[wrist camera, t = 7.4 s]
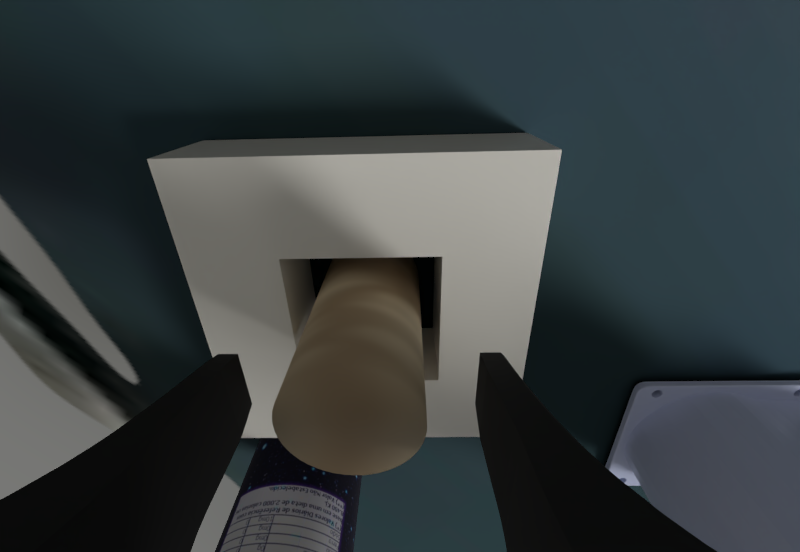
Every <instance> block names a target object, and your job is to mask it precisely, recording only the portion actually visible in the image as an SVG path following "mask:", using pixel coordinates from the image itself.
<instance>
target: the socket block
mask: <svg viewBox="0 0 800 552" xmlns="http://www.w3.org/2000/svg"><path fill="white" fill-rule="evenodd" d="M561 153H562V149H560V148H557V147H555V146H553V145H551V144H549V143H547V142H545V141H543V140H541V139H539V138H537V137H535V136H533V135H531V134H529V133H495V134H452V135H410V136H367V137H325V138H282V139H240V140H203V141H200V142H197V143H194V144H191V145H188V146H185V147H182V148H179V149H176V150H173V151H170V152H167V153H164V154H161V155H157V156H154V157H151V158H148V159H147V161H148V164H149V167H150V170H151V173H152V176H153V179H154V182H155V185H156V188H157V191H158V194H159V197H160V200H161V203H162V206H163V209H164V212H165V215H166V218H167V221H168V224H169V227H170V230H171V233H172V236H173V239H174V243H175V246H176V249H177V252H178V255H179V258H180V261H181V264H182V267H183V270H184V273H185V276H186V279H187V282H188V285H189V288H190V291H191V294H192V297H193V300H194V303H195V306H196V309H197V312H198V315H199V318H200V321H201V324H202V327H203V330H204V333H205V336H206V339H207V342H208V345H209V348H210V351H211V354H212V357H214V356H216V355H217V354H238V356H239V360H240V363H241V367H242V370H243V374H244V377H245V381H246V384H247V388H248V391H249V395H250V398H251V402H252V406H251V409H250V412H249V416H248V419H247V422H246V425H245V428H244V431H243V434H242V437H241V438H278V437H277V435H276V433H275V431H274V427H273V423H272V410H273V406H274V403H275V400H276V398H277V395H278V393H279V390H280V388H281V385H282V383H283V381H284V378H285V376H286V373H287V371H288V368H289V366H290V363H291V361H292V358H293V356H294V353H295V351H296V348H297V346H298V343H299V341H300V338H301V336H302V333H303V331H304V328H305V326H306V323H307V321H308V318H309V316H310V313H311V311H312V308H313V306H314V303H315V301H316V298H315V292H314V285H313V278H312V272H311V265H310V259H325V258H388V257H434V295H433V328H422V343H423V360H424V377H425V394H426V411H427V433H426V437H480V435H479V428H478V421H477V414H476V406H475V399H476V388H477V378H478V367H479V357H480V353H485V352H501V353H502V354H503V355H504V356H505V357H506V359H507V360H508V361H509V363H510V364H511V366H512V367H513V368H514V369H515V371H516V372H517V373H518V375H519V376H520V377H521V378H522V380H523V374H524V368H525V362H526V356H527V350H528V345H529V339H530V333H531V327H532V321H533V316H534V310H535V304H536V298H537V292H538V286H539V281H540V275H541V269H542V263H543V257H544V252H545V246H546V240H547V234H548V228H549V222H550V217H551V211H552V205H553V199H554V193H555V187H556V182H557V176H558V170H559V164H560V158H561Z"/></svg>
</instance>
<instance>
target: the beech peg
mask: <svg viewBox="0 0 800 552" xmlns="http://www.w3.org/2000/svg"><path fill="white" fill-rule="evenodd" d="M272 423H273V427H274V431H275V433H276V435H277V437H278V439H279V440H280V442H281V443H282V445H283V446H284V447H285V448H286V449H287V450H288V451H289V452H290V453H291V454H293V455H294V456H295V457H297V458H298V459H299V460H301V461H303V462H305V463H306V464H308V465H310V466H313V467H315V468H318V469H321V470H324V471H327V472H331V473H336V474H343V475H368V474H375V473H380V472H384V471H387V470H390V469H392V468H395V467H397V466H399V465H401V464H403V463H404V462H406V461H407V460H409V459H410V458H411V457H412V456H413V455H414V454H416V452H417V451H418V450H419V449H420V447H421V445H422V444H423V442H424V439H425V437H426V433H427V411H426V394H425V377H424V360H423V343H422V326H421V309H420V292H419V275H418V269H417V266H416V263H415V261H414V259H413V258H412V257H388V258H333V259H332V261H331V264H330V266H329V268H328V271H327V273H326V276H325V278H324V281H323V283H322V286H321V288H320V291H319V293H318V296H317V298H316V301H315V303H314V306H313V308H312V311H311V313H310V316H309V318H308V321H307V323H306V326H305V328H304V331H303V333H302V336H301V338H300V341H299V343H298V346H297V348H296V351H295V353H294V356H293V358H292V361H291V363H290V366H289V368H288V371H287V373H286V376H285V378H284V381H283V383H282V385H281V388H280V390H279V393H278V395H277V398H276V400H275V403H274V406H273V410H272Z"/></svg>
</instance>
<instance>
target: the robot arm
mask: <svg viewBox="0 0 800 552" xmlns="http://www.w3.org/2000/svg"><path fill="white" fill-rule="evenodd" d="M251 406H252V402H251V398H250V395H249V391H248V388H247V384H246V381H245V377H244V374H243V370H242V367H241V363H240V360H239V356H238V354H217V355H216V356H214V357H213V358H212V359H210V360H209V361H208V362H206V363H205V364H204V365H202V366H201V367H200V368H198V369H197V370H196V371H195V372H193V373H192V374H191V375H189V376H188V377H187V378H186V379H184V380H183V381H182V382H181V383H179V384H178V385H177V386H175V387H174V388H173V389H172V390H170V391H169V392H168V393H166V394H165V395H164V396H162V397H161V398H160V399H159V400H157V401H156V402H155V403H153V404H152V405H151V406H149V407H148V408H147V409H145V410H144V411H142V412H141V413H140V414H138V415H137V416H135V417H134V418H133V419H131V420H130V421H128V422H127V423H126V424H124V425H123V426H122V427H120V428H119V429H117V430H116V431H115V432H113V433H112V434H110V435H109V436H107V437H106V438H104V439H103V440H101V441H100V442H98V443H97V444H95V445H94V446H92V447H90V448H89V449H88V450H86V451H84V452H82V453H81V454H79V455H78V456H76V457H75V458H73V459H71V460H70V461H68V462H66V463H65V464H63V465H61V466H60V467H58V468H56V469H55V470H53V471H51V472H49V473H48V474H46V475H44V476H42V477H41V478H39V479H37V480H35V481H34V482H32V483H30V484H28V485H27V486H25V487H23V488H21V489H19V490H18V491H16V492H14V493H12V494H10V495H9V496H7V497H5V498H3V499H1V500H0V552H190V551H191V549H192V546H193V543H194V541H195V538H196V535H197V532H198V530H199V528H200V525H201V523H202V521H203V518H204V516H205V514H206V511H207V509H208V507H209V505H210V503H211V501H212V499H213V497H214V494H215V492H216V490H217V488H218V486H219V484H220V482H221V479H222V478H223V476H224V473H225V471H226V469H227V467H228V465H229V463H230V461H231V459H232V456H233V454H234V452H235V450H236V448H237V446H238V443H239V441H240V439H241V437H242V434H243V431H244V428H245V425H246V422H247V419H248V416H249V412H250V409H251ZM475 406H476V414H477V421H478V428H479V435H480V439H481V443H482V447H483V451H484V455H485V459H486V463H487V467H488V471H489V475H490V479H491V482H492V486H493V490H494V494H495V498H496V502H497V506H498V509H499V513H500V517H501V522H502V527H503V531H504V536H505V542H506V548H507V552H800V380H775V381H652V382H641V383H638V384H637V385H636V386H635V387H634V389H633V391H632V394H631V397H630V399H629V402H628V405H627V408H626V410H625V413H624V416H623V419H622V421H621V424H620V427H619V430H618V433H617V435H616V438H615V441H614V444H613V446H612V449H611V452H610V455H609V457H608V460H607V463H606V466H603V465H602V464H601V463H600V462H599V461H598V460H597V459H596V458H595V457H594V456H593V455H591V454H590V453H589V452H588V451H587V450H586V449H585V448H584V447H583V446H582V445H581V444H580V443H579V442H578V441H577V440H576V439H575V438H574V437H573V436H572V435H571V434H570V433H569V432H568V431H567V430H566V429H565V428H564V427H563V426H562V425H561V424H560V423H559V422H558V421H557V419H556V418H555V417H554V416H553V415H552V414H551V413H550V412H549V411H548V410H547V408H546V407H545V406H544V405H543V404H542V403H541V401H540V400H539V399H538V398H537V397H536V396H535V394H534V393H533V392H532V391H531V390H530V388H529V387H528V386H527V385H526V384H525V382H524V381H523V380H522V378H521V377H520V376H519V375H518V373H517V372H516V371H515V369H514V368H513V367H512V366H511V364H510V363H509V361H508V360H507V359H506V357H505V356H504V355H503V354H502V353H501V352H485V353H480V357H479V367H478V378H477V388H476V399H475ZM636 485H641V487H642V489H643V491H644V492H645V494H646V496H647V498H648V499H649V501H650V503H651V504H650V503H649V502H647V501H646V500H645V499H644V498H642V497H641V496H640V495H639V494H637V493H636V492H635V491H634V490H632V489H631V488H630V487H629V486H636Z"/></svg>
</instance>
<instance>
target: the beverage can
mask: <svg viewBox="0 0 800 552" xmlns="http://www.w3.org/2000/svg"><path fill="white" fill-rule="evenodd" d="M361 478H362V475H343V474H336V473H331V472H327V471H324V470H321V469H318V468H315V467H313V466H310V465H308V464H306V463H305V462H303V461H301V460H299V459H298V458H297V457H295V456H294V455H293V454H291V453H290V452H289V451H288V450H287V449H286V448H285V447H284V446H283V445H282V443H281V442H280V440H279V439H278V438H260V441H259V443H258V446H257V448H256V451H255V453H254V456H253V458H252V460H251V463H250V465H249V468H248V470H247V473H246V475H245V478H244V480H243V483H242V485H241V488H240V490H239V493H238V496H237V498H236V500H235V503H234V506H233V508H232V510H231V513H230V516H229V518H228V520H227V523H226V525H225V528H224V530H223V533H222V535H221V538H220V540H219V543H218V545H217V548H216V550H215V552H353V548H354V539H355V531H356V522H357V513H358V504H359V495H360V487H361Z"/></svg>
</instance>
